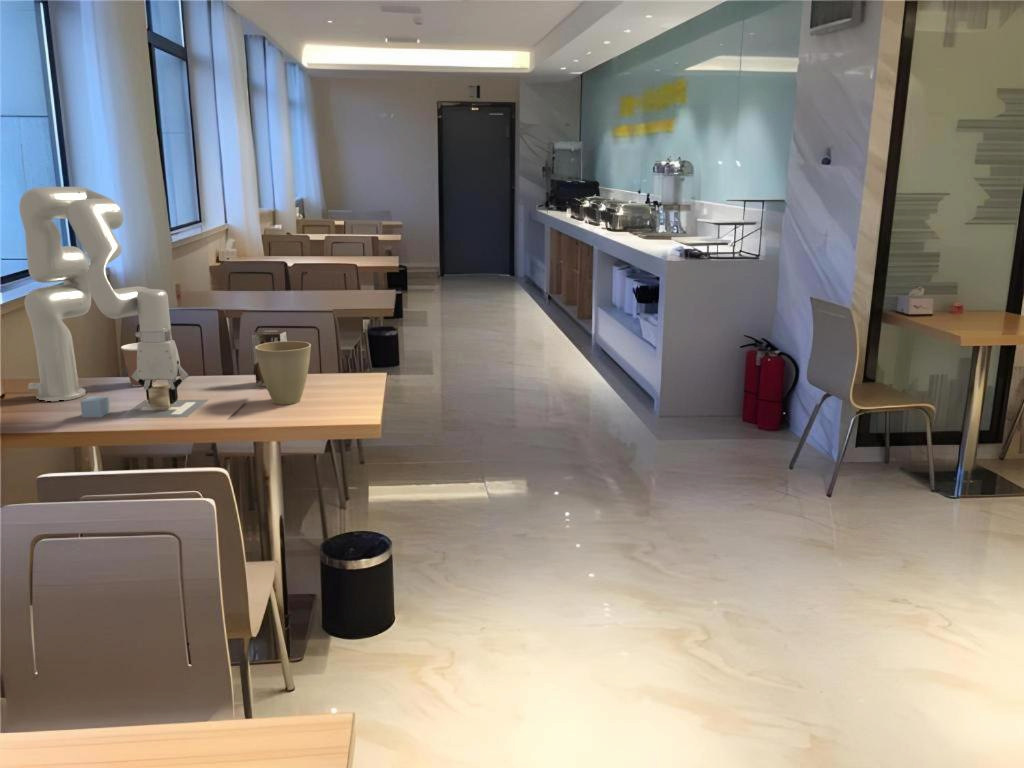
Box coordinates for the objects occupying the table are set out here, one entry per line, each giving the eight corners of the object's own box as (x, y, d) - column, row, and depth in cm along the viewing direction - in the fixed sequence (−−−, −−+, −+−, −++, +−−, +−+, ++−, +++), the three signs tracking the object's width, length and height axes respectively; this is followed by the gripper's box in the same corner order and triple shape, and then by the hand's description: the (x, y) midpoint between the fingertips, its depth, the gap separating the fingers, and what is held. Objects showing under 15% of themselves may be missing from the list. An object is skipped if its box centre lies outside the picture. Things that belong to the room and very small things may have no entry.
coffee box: (292, 381, 256) (288, 329, 253) (284, 386, 250) (280, 333, 246) (263, 381, 257) (259, 329, 253) (255, 386, 251) (250, 333, 247)
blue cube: (82, 420, 217) (80, 401, 216) (91, 414, 222) (89, 396, 221) (102, 419, 217) (99, 401, 216) (110, 414, 222) (108, 396, 221)
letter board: (117, 420, 216) (116, 418, 216) (144, 402, 234) (144, 400, 233) (187, 419, 217) (186, 417, 216) (209, 401, 234) (209, 399, 234)
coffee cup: (139, 379, 261) (135, 341, 258) (169, 380, 259) (164, 342, 256) (118, 387, 251) (113, 348, 248) (148, 388, 249) (144, 349, 246)
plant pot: (305, 408, 226) (301, 351, 222) (251, 408, 227) (246, 350, 223) (321, 394, 240) (317, 340, 237) (270, 394, 241) (266, 340, 237)
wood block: (150, 407, 222) (148, 389, 221) (157, 402, 227) (155, 384, 226) (169, 407, 223) (167, 389, 221) (175, 402, 227) (174, 384, 226)
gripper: (117, 339, 216) (125, 406, 221) (183, 339, 217) (189, 406, 221) (129, 333, 224) (136, 399, 228) (193, 333, 224) (199, 399, 229)
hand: (162, 402), depth 225 cm, fingers closed on wood block, 4 cm apart
